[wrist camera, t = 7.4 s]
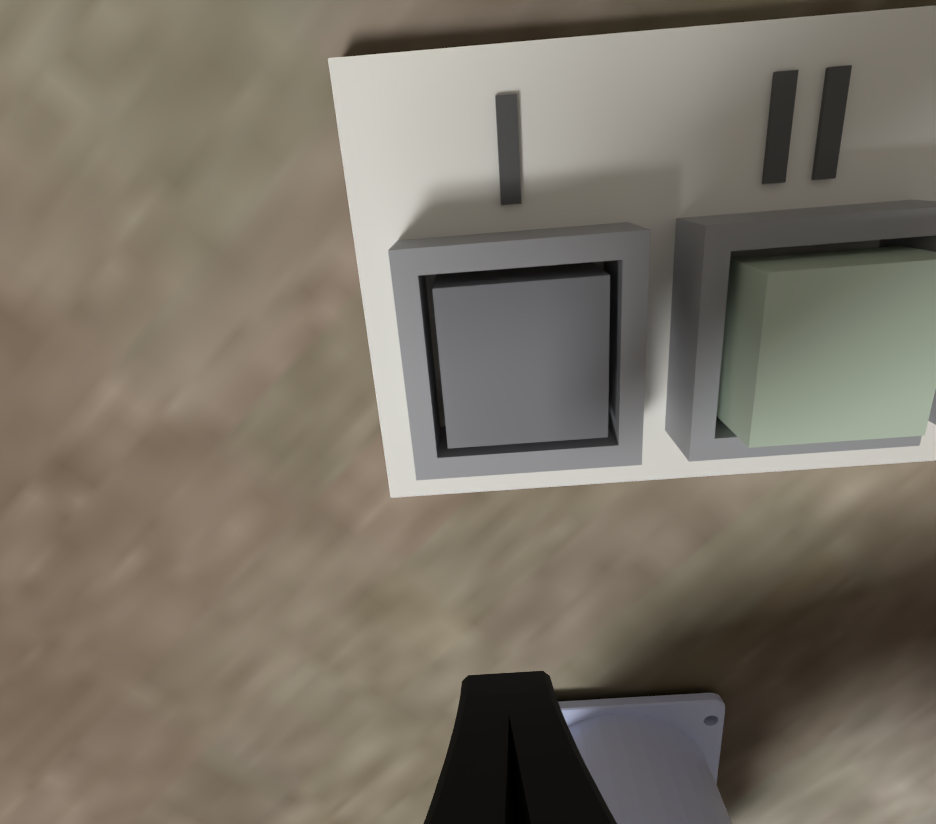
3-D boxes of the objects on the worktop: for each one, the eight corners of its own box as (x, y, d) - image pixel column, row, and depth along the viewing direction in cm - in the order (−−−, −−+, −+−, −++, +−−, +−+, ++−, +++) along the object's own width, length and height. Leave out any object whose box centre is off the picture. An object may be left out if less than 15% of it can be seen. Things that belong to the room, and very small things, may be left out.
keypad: (1108, 432, 18) (1223, 479, 16) (394, 481, 19) (382, 535, 16) (1269, -16, 14) (1469, -62, 11) (336, 65, 15) (306, 40, 12)
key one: (591, 407, 17) (608, 437, 15) (449, 417, 17) (448, 448, 15) (592, 262, 15) (610, 275, 13) (436, 274, 15) (432, 289, 13)
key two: (870, 403, 16) (924, 435, 14) (715, 414, 16) (748, 447, 14) (900, 245, 14) (966, 257, 12) (728, 258, 14) (768, 272, 12)
